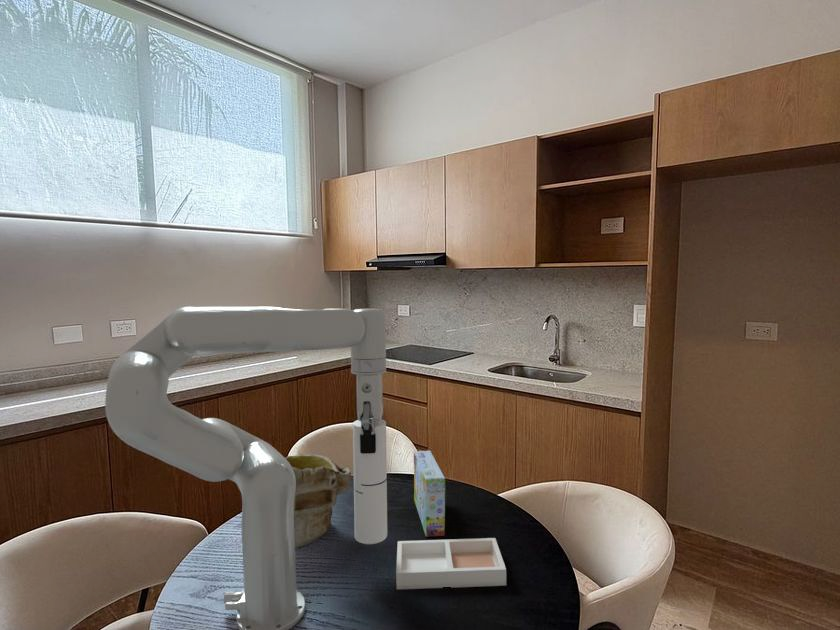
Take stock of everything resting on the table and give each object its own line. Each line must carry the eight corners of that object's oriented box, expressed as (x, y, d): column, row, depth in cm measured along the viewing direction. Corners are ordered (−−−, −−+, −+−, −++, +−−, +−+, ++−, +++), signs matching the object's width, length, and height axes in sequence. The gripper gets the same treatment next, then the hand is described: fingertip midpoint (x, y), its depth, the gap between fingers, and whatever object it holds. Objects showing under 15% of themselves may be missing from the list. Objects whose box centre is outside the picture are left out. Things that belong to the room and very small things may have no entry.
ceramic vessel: (330, 468, 137) (344, 418, 122) (349, 548, 121) (368, 501, 106) (251, 482, 127) (256, 429, 112) (261, 571, 111) (268, 523, 96)
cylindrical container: (382, 545, 94) (380, 428, 93) (349, 542, 96) (348, 426, 95) (391, 528, 101) (389, 418, 100) (360, 525, 103) (359, 417, 102)
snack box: (447, 536, 114) (446, 477, 113) (425, 538, 113) (424, 479, 112) (431, 498, 135) (430, 448, 134) (412, 500, 134) (411, 450, 133)
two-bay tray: (396, 589, 94) (396, 573, 93) (398, 555, 106) (397, 541, 105) (506, 585, 94) (506, 569, 94) (495, 552, 106) (495, 537, 106)
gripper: (383, 372, 88) (384, 461, 89) (387, 359, 106) (388, 434, 107) (345, 372, 88) (346, 461, 89) (356, 360, 106) (357, 434, 106)
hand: (369, 446), depth 98 cm, fingers closed on cylindrical container, 7 cm apart
